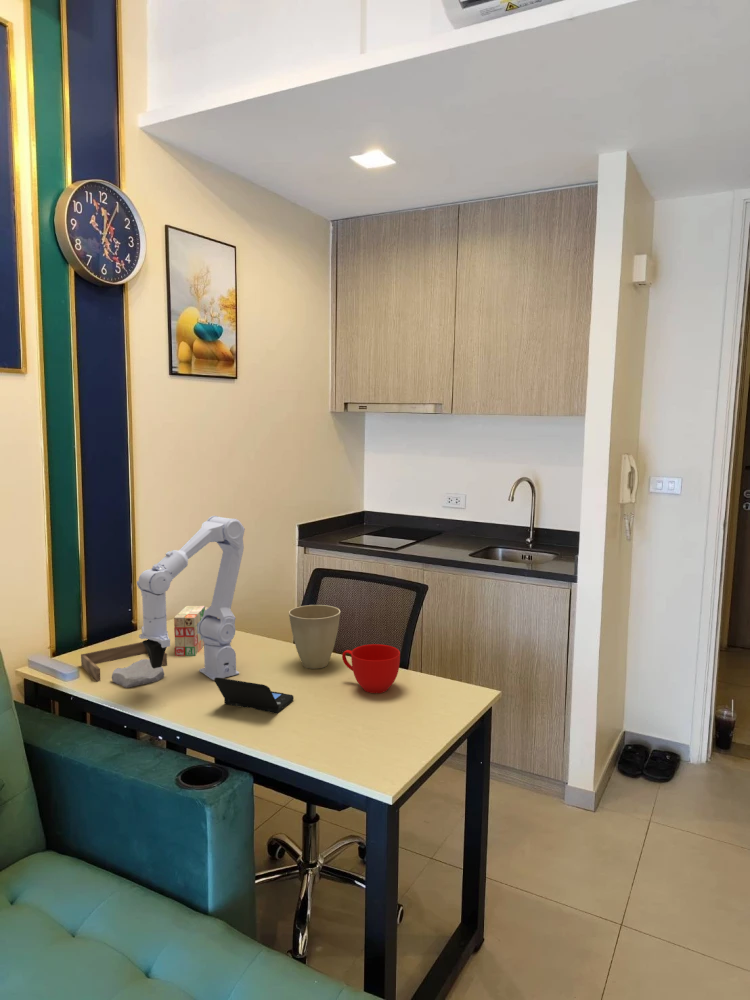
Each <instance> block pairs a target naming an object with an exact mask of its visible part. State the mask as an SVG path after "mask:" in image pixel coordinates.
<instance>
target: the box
mask: <svg viewBox="0 0 750 1000" xmlns="http://www.w3.org/2000/svg"><path fill="white" fill-rule="evenodd" d="M144 654H147V655H148V653H147V650H146V648H145V646H144V645H143V643H142V641H140V642H136V643H131V644H127V645H121V646H116V647H110V648H106V649H101V650H96V651H91V652H87V653H86V652H85V653H81V654H80V659H81V662H80V663H81V667H82V669H84V670H85V671H86V672H87V673H88V674H89V675H90V676H91V677H92V678H94V680H95V681H96V682H101V668H100V666H98V664H103V663H106V662H107V663H108V662H111V661H117V660H121V659H124V658H126V659H127V658H129V657H134V656H135V657H136V656H139V655H144ZM167 656H168V655H167V652H165V653H164V657H163V661H162V666H163V667H166V666H168V661H167V660H168V657H167Z"/></svg>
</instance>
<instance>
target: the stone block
mask: <svg viewBox="0 0 750 1000" xmlns="http://www.w3.org/2000/svg"><path fill="white" fill-rule="evenodd" d="M164 677H165V671H164V667H163V665H162V666H161V667H158V668H152V666H151V663H150V659H149V658H144V659H140V660H137V661H136V662H133V663H131V664H130V665H129V666H126V667H123V668H121V667H117V668H115V669H114V670H113V671H112V674H111V681H112V682H113V684H114V683H115V684H117V685H120V686H122V687H123V688H132V687H137V686H141V685H146V684H151V683H155V682H159V681H161V680H162V679H163V678H164Z"/></svg>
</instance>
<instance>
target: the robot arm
mask: <svg viewBox="0 0 750 1000" xmlns="http://www.w3.org/2000/svg"><path fill="white" fill-rule="evenodd" d="M245 530H246V529H245V527H244V525H243V524H242V522H241V521H240V520H239V519H238V518H228V517H224V516H223V517H222V516H218V515H211V516H209V517H208V518H207V520H205V521H204V522H202V523H201V527H200V528H199V529H198V531H196V533H194V534H193V536H191V538H190V539H189V540H187V541H186V543H185V544H184V545H183V546H182V547H181V548H180V549H172V550H171V551H170V550H169V551H167V552H166V553H165V556H164V557H163V558H162V559H160V561H158V562H157V563H154V564H153V565H152V567H151V568H150V569H146V570H144V571H142V572H141V573H140V575H139V576H138V577H139V578H138V580H137V581H136V586H137V587H138V589H139V590H140V592H141V597H142V619H143V621H142V623H143V625H142V626H141V634H139V636H138V638H140V639H141V640H142V639H144V640H142V641H141V642H142V643H143V645H144V646H145V648H146V650H147V653H148V654H147V653H146V654H147V655H148V659H150V663H151V666H152V668H158V667H161V666H162V667H163V665H162V661H163V657H164V653H166V649H167V648H169V647H171V639H170V638H169V633H168V632H169V631H168V630H167V628H168V627H167V600H166V599H167V597H166V596H167V595H166V592H168V590H169V589H170V587H171V583H172V582H173V580H174V579H175V578H176V577H177V576H178V575H179V574H180V573H181V572H183V571H184V570H185V569H186V568H187V567H188V564H189V559H190V558H192V557H193V556H194V555H195V554H197V553H198V552H199V551H200V550H202V549H203V548H204V547H206V546H207V545H208V544H209V543H216V544H217V545H218V546H219V548H220V549H221V550H222V553H221V554H222V555H221V559H220V563H219V568H218V573H217V576H216V577H217V578H216V582H215V587H214V591H213V596H212V599H211V600H212V601H211V604H210V606H209V608H208V609H206V610H205V611H204V615H203V617H202V619H201V621H200V622H199V625H198V632H199V634H200V635H201V636H202V637H203V641H204V646H203V649H204V650H203V655H204V657H203V659H204V667H202V668H199V669H198V670H199V672H200V673H201V674H203V675H205V676H206V677H207V678H209V679H210V680H212V681H214V679H215V678H224V679H226V678H228V677H232V676H237V675H239V674H240V671H238V670H237V653H236V650H235V649H234V648H233V647H232V645H231V643H232V640H233V639H234V637H235V635H236V625H235V624H236V616H235V615H234V613H233V612H232V610H231V608H232V604H233V600H234V595H235V591H236V585H237V582H238V577H239V572H240V568H241V563H242V558H243V553H244V549H245V548H244V536H245V535H244V534H245Z"/></svg>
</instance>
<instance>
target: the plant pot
mask: <svg viewBox="0 0 750 1000" xmlns="http://www.w3.org/2000/svg"><path fill="white" fill-rule="evenodd" d="M288 617H289V622H290V628H291V632H292V638H293V641H294V645H295V649H296V651H297V653H298V654H297V655H298V657H299V660H300V662H301V664H302V666H303V667H304V668H306V669H310V670H311V669H312V670H314V669H315V670H317V669H323V668H325V667H327V666H328V664H329V662H330V659H331V656H332V653H333V651H334V648H335V643H336V639H337V635H338V631H339V626H340V617H341V610H340V608H339V607H336V606H332V605H324V604H309V605H301V606H298V607H297V606H296V607H294V608H291V609H290V610H289V611H288Z"/></svg>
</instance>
